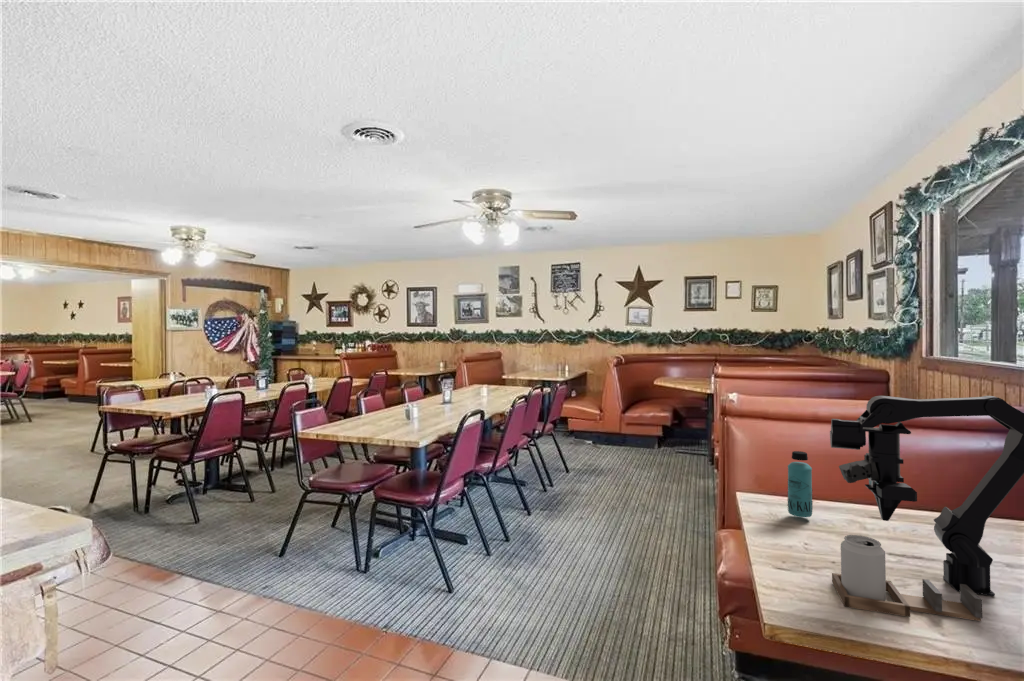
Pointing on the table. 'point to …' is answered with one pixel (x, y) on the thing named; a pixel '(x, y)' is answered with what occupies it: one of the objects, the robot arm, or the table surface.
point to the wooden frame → (916, 601)
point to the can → (863, 567)
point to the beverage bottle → (799, 486)
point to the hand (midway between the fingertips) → (885, 520)
